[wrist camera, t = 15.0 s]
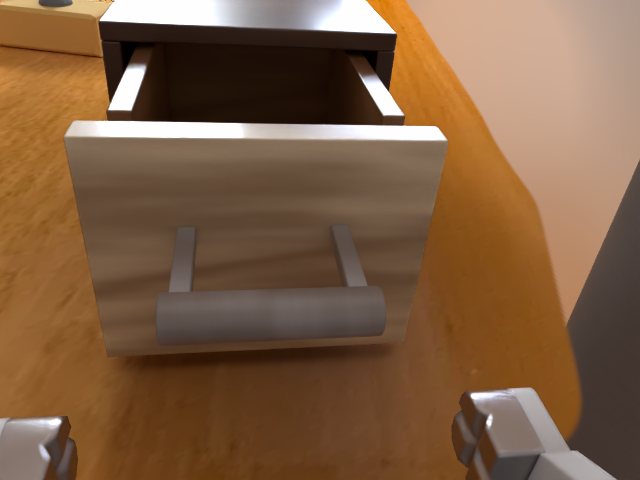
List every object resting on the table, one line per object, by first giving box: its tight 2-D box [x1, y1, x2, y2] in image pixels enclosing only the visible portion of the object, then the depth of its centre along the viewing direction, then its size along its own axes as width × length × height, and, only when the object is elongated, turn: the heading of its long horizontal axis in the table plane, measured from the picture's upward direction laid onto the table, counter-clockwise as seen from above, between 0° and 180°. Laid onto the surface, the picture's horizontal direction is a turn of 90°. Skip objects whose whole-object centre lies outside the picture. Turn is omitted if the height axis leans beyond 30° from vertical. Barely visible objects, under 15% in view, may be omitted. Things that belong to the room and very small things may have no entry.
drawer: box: [63, 42, 448, 357], centre depth 23 cm, size 19×11×9 cm, turn 8°
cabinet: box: [98, 0, 397, 102], centre depth 33 cm, size 16×13×11 cm
